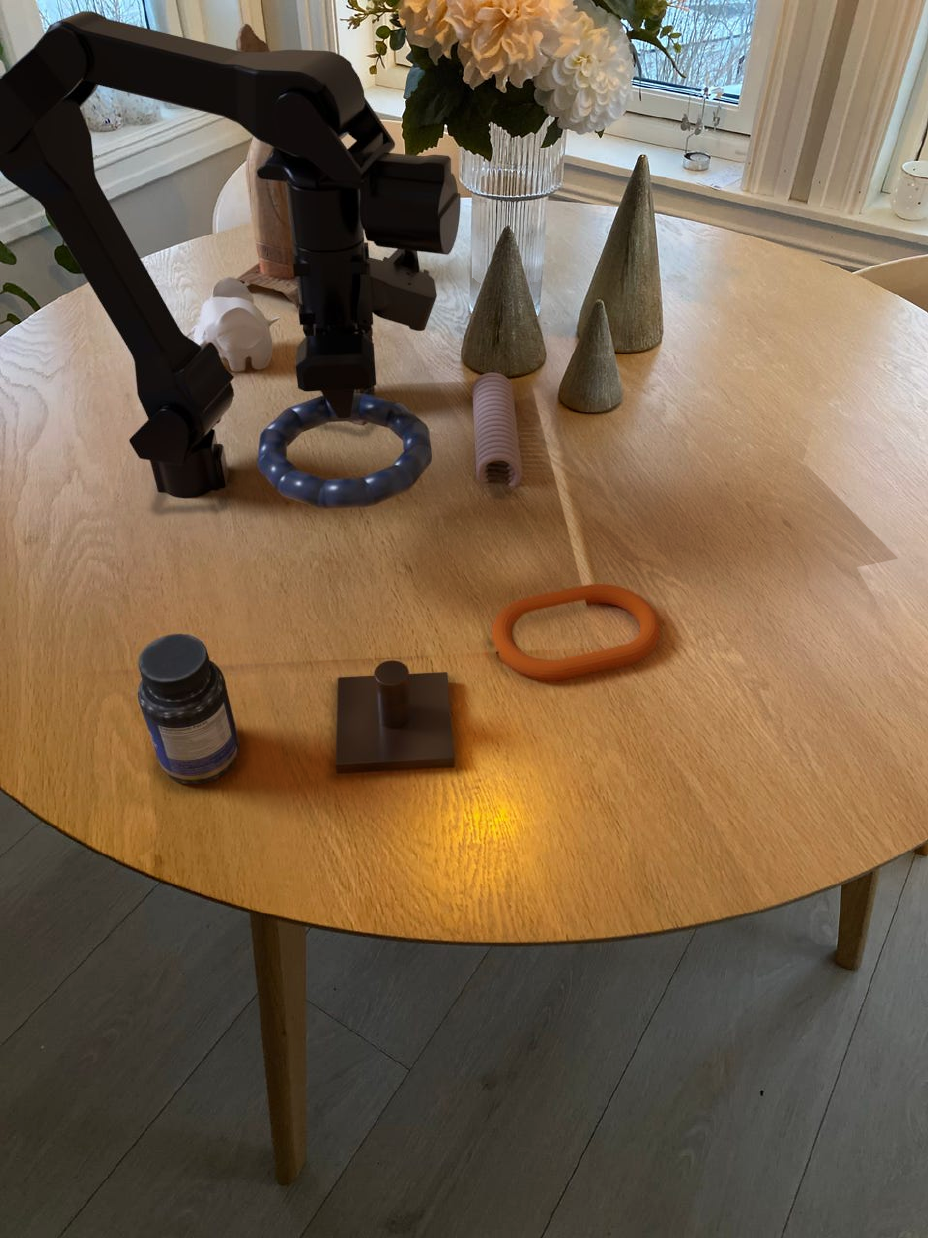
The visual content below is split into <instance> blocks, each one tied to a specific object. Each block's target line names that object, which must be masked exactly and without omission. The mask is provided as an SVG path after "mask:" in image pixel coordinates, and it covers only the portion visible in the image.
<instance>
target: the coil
mask: <svg viewBox="0 0 928 1238" xmlns="http://www.w3.org/2000/svg"><path fill="white" fill-rule="evenodd" d="M471 392H472V394H471V395H472V396H471V397H472V409H473V410H472V412H473V414H472V415H473V432H474V453H475V469H476V472H475V473H476V477H477V479H478V481H479V482H480V483H487V482H489V481H490V480H489V478H488V476H489V473H488V472H487V471H488V470H489V467H487V466H488V465H489V464H491V463H493V462H496V461H497V462H498V461H500V462H501V461H502V462H505V463H507V464H509V465H507V467H506V468H507V469H508V470H509V471H508V472H507V475H510V476H509V477H508V478H507V479H508V481H510V482H509V483H508V486H509V487H514V488H515V487H518V486H519V485H520V483H521V481H522V477H523V468H522V458H521V452H520V451H521V450H520V441H519V432H518V425H517V424H518V422H517V414H516V406H515V405H516V404H515V397H514V387H513V384H512V382H511V381H510V380H509V378H508V377H506V376H505V375H504V374H502V373H499V372H494V371H493V372H487V373H483V374H481V375H479V376H478V377H476V379H475V380H474V383H473V384H472V389H471Z"/></svg>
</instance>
